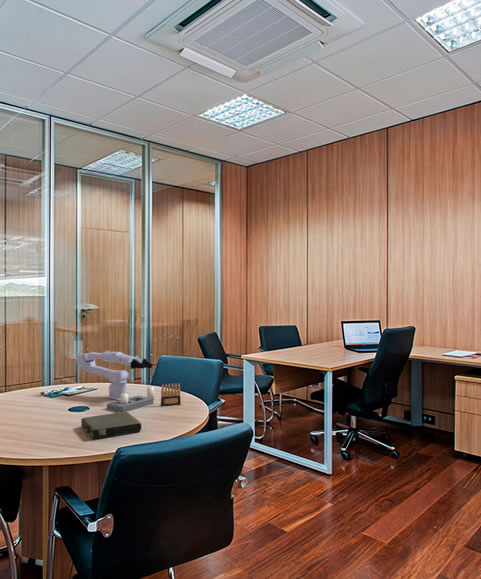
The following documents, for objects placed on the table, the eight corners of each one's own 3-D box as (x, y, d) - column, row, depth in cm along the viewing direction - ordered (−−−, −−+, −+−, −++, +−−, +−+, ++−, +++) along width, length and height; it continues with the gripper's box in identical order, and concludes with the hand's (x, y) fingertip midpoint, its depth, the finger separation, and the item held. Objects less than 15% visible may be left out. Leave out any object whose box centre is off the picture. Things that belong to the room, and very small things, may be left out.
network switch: (75, 429, 196) (75, 418, 196) (124, 420, 211) (124, 409, 211) (95, 443, 178) (95, 430, 178) (147, 431, 193) (147, 420, 193)
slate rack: (106, 409, 229) (107, 394, 229) (137, 400, 247) (138, 387, 247) (122, 412, 222) (122, 398, 222) (153, 403, 241) (153, 390, 241)
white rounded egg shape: (145, 399, 249) (145, 387, 249) (150, 398, 253) (150, 386, 253) (150, 400, 247) (150, 388, 247) (155, 399, 251) (155, 387, 251)
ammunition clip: (161, 406, 235) (161, 384, 235) (160, 405, 237) (160, 383, 237) (180, 405, 239) (180, 383, 239) (180, 404, 240) (180, 382, 240)
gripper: (122, 354, 243) (141, 359, 237) (138, 353, 256) (157, 359, 251) (119, 366, 243) (138, 372, 237) (136, 365, 256) (154, 371, 250)
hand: (147, 366), depth 244 cm, fingers open, 7 cm apart
